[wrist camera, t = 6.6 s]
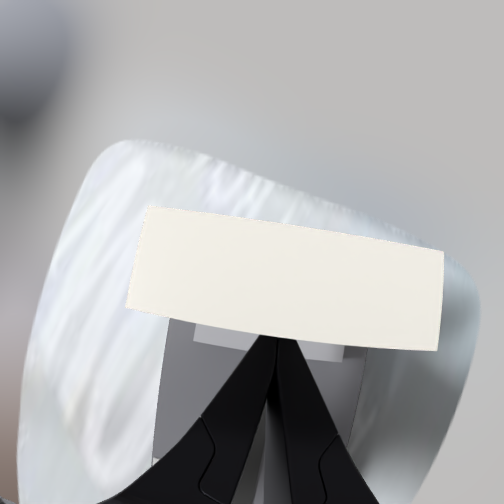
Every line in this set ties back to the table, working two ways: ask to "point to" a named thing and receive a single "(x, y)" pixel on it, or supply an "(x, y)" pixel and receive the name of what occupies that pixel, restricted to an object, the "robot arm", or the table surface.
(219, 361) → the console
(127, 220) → the table surface
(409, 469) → the table surface
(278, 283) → the fader
